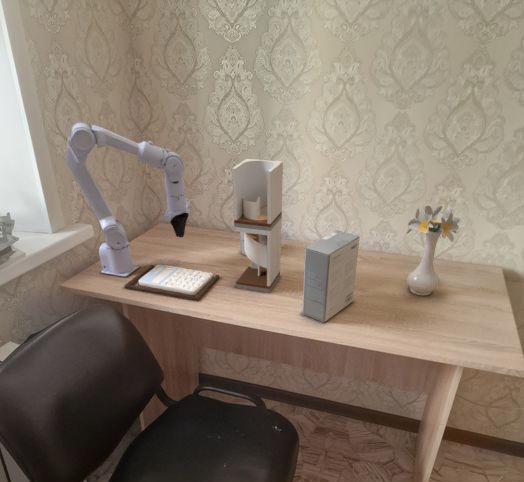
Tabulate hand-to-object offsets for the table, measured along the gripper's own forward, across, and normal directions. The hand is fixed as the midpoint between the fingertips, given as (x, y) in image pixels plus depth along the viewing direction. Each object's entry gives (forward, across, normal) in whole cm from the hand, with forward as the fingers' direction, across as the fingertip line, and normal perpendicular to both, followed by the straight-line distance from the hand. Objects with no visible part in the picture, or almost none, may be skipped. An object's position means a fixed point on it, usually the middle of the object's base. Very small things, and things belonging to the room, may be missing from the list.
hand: (180, 236), depth 151 cm
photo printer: (+10, +18, -18) cm, 27 cm away
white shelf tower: (+10, -5, -29) cm, 31 cm away
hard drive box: (+10, -14, -53) cm, 56 cm away
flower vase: (+10, +6, -77) cm, 78 cm away
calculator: (+10, -13, -4) cm, 17 cm away
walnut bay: (+9, -14, -4) cm, 18 cm away
